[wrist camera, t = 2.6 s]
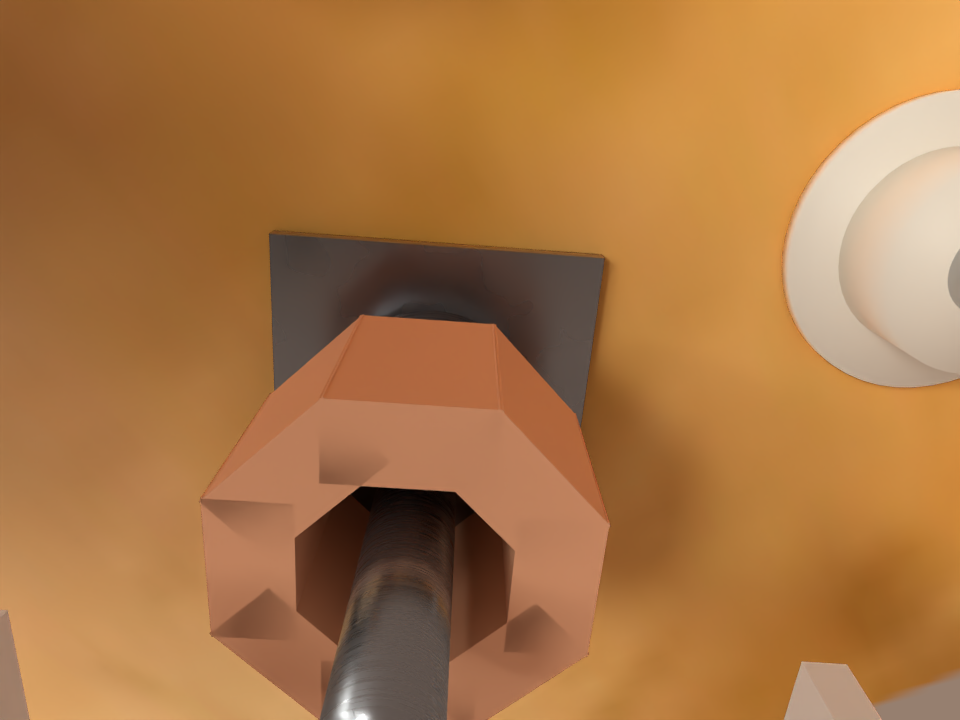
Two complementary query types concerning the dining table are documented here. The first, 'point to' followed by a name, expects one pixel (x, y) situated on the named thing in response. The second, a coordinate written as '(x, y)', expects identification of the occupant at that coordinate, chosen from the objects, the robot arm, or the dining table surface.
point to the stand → (411, 512)
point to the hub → (883, 248)
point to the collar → (409, 465)
